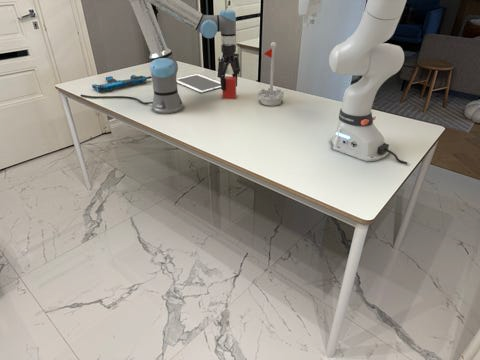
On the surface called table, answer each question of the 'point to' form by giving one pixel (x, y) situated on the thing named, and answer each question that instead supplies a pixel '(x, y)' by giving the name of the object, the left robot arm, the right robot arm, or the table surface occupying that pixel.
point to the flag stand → (271, 84)
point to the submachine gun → (119, 83)
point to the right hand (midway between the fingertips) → (308, 25)
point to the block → (230, 88)
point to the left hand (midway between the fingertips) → (229, 87)
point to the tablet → (199, 83)
